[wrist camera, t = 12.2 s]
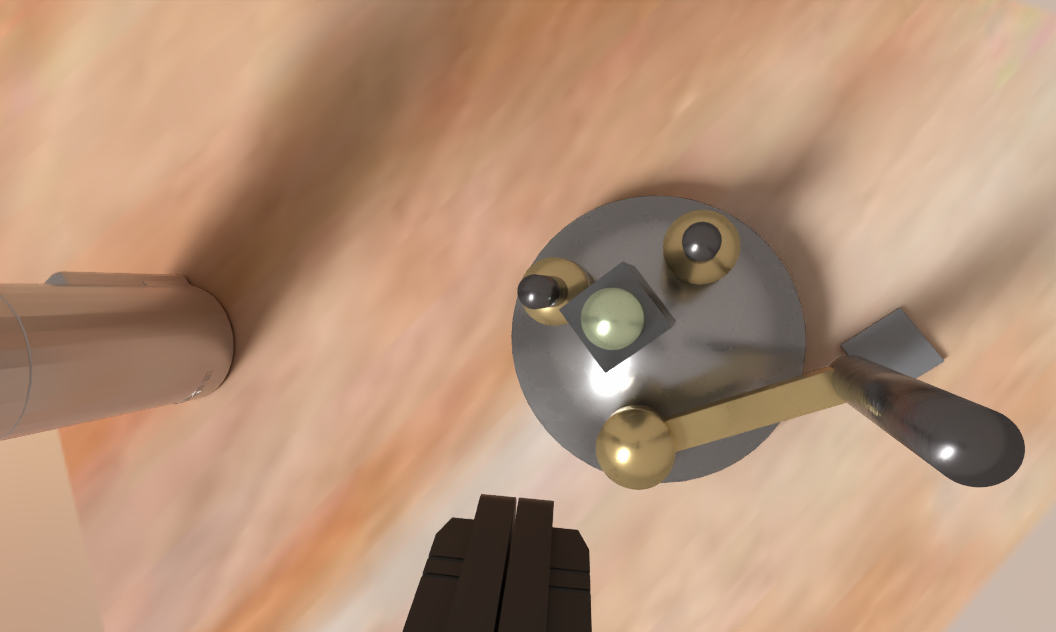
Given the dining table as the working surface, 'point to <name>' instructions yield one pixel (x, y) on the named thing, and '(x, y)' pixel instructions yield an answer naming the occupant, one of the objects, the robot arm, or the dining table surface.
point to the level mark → (895, 345)
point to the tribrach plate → (675, 359)
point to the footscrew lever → (872, 389)
